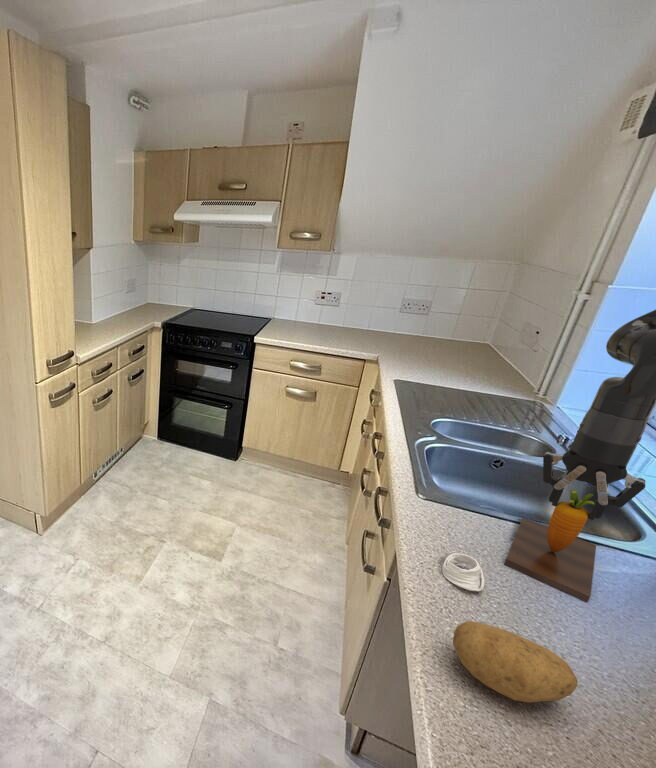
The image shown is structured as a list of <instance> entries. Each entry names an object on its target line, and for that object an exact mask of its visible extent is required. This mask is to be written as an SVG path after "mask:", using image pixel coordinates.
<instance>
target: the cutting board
mask: <svg viewBox="0 0 656 768" xmlns="http://www.w3.org/2000/svg"><path fill="white" fill-rule="evenodd" d="M548 526H549V525H545V524H543V523H540V522H537V521H534V520H532V519H530V518H528V517H527V518H526V517H525V516H522V517H521V520H520V522H519V525H518V527H517V530H516V532H515V534H514V538H513V541H512V543H511V546H510V547H509V550H508V553H507V556H506V558H505V561H504V562H503V565H504V566H506V567H509V568H511V569H513V570H515V571H517V572H519V573H522V574H523V575H526V576H528V577H530V578H532V579H535V580H537V581H539V582H542V583H543V584H546V585H547V586H550V587H552V588H555V589H556V590H558V591H560V592H563V593H565V594H568V595H570V596H572V597H574V598H576V599H579V600H580V601H583V602H585V603H588V602H589V600H590V598H591V595H592V587H593V578H594V569H595V560H596V553H597V544H595V543H592V542H589V541H587V540H584V539H582V538H579V537H576V539H575V540H574V541H573V542H572V543H571V544H570V545H569V546H568V547H566V548H565V549H563V550H561V551H558V552H552V551H551V550H550V548H549V544H548V539H547V533H548Z"/></svg>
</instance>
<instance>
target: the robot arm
mask: <svg viewBox="0 0 656 768" xmlns="http://www.w3.org/2000/svg"><path fill="white" fill-rule="evenodd" d="M605 349H606V353H607V354H608V355H609V357H611V358H612V359H613V360H616V361H618V362H620V363H624V364H626V365H630V366H632V368H630V371H629V372H628V373H627V374H626V375H625V376H612V377H608V378H605V379H604V380H603V381H602V382H601V384H600V385H599V388H598V389H597V391H596V394H595V396H594V398H593V401H592V402H591V405H590V407H589V409H588V410H587V411H586V413H585V415H584V416H583V417H582V420H581V422H580V424H579V427H578V429H577V432H576V434H575V436H574V438H573V440H572V443H571V446H570V447H569V449H568V451H566V452H564V453H563V454H562V453H554V452H553V451H551V450H548V451H545V452H544V454H543V457H542V461H543V463H542V470H543V471H542V475H543V476H542V480H543V482H544V483H546V484H549V485H550V486H552V491H551V494H550V495H549V497H548V502H549V503H551V506H552V507H554V508H555V507H556V506H557V504H558V503H559V502H560V499H561V497H562V494H563V492H564V489H565V487H566V486H568V485H569V484H571V483H573V482H574V481H579V482H585V483H587V484H589V485H591V486H594V487H596V488H597V489H596V492H597V498H596V499H595V501H594V505H592V507H591V509H590V512H589V516H588V519H589V520H591V521H594V520H595V519H598V520H599V519H600V518H601V517H602V516H603V514H604V511H605V509H606V508H607V507H608V506H613V507H617V508H622V507H625V505H627V503H629V502H630V501H632V499H634V498H635V497H636V496H637V495H638V494H640V493H641V492H642V491H643V490H644V489H646V483H647V482H646V479H644V478H642V477H635V476H633V475H632V474H630V473H628V470H627V466H628V465H629V463H630V462H631V461H630V460H631V459H632V456H633V455H634V453H635V451H636V449H637V447H638V445H639V443H640V442H641V441H642V437H643V435H644V432H645V430H646V427H647V423H648V420H649V418H650V416H651V415H652V412H653V410H654V408H655V406H656V309H654V310H651V311H649V312H647V313H645V314H642V315H640V316H638V317H635V318H634V319H632V320H630V321H628V322H626V323H624V324H623V325H621V326H620V327H618V328H617V329H616V330H614V332H613V333H612V334H611V335H610V336H609V338H608V340H607V341H606V345H605ZM560 461H562V463H563V464H564V466H565V468H566V470H567V471H566V472H564V474H562V475H561V476H560V477H559V478H557V477H556V476H554V469H555V468H554V466H556V465H558V464H559V462H560ZM621 480H624V487H625V488H623V489H622V490H621V491H620V492H619V493H618V494H617V495H615V496H614V495H609V485H611V484H613V483H616V482H618V481H621Z"/></svg>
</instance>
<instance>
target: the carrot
mask: <svg viewBox="0 0 656 768" xmlns="http://www.w3.org/2000/svg"><path fill="white" fill-rule="evenodd" d="M569 495H570V496H569V497H570V498H569V501H558V504H557V506H556V507H555V506H554V509H553V511H552V514H551V516H550V520H549V522H548V525H547V526H548V533H547V539H548V544H549V548H550V550H551V551H552V552H558V551H561V550H563V549H565V548H566V547H568V546H569V545H570V544H571V543H572V542H573V541H574V540H575V539H576V538H578V536H579V535H580V533H581V531H582V530H583V529H584V527H585V525H586V523H587V521H588V519H589V518H588V516H589V513H590V512H589V511H588V510H587V509H586V508H584V506H589V505H592V506H593V505H594V503H595V501H592V500H589V499H591V498H593V496H594V494H593V493H591V492H590V493H588V494H586V495H584V496H583V497H582V499H579V494H578V491H577V490H575V489H572V490H570V494H569Z"/></svg>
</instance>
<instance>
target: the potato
mask: <svg viewBox="0 0 656 768" xmlns="http://www.w3.org/2000/svg"><path fill="white" fill-rule="evenodd" d="M452 638H453V639H452V645H453V648H454V650H455V652H456V655H457V656H458V658H459V660H460V662H461V664H462V665H463V667H464V668H465V669H466V670H467V671H468V672H469V673H470V674H471V675H472V676H473V677H474V678H476V679H477V680H478V681H479V682H480V683H482V684H483V685H485V686H486V687H487V688H490V689H492V690H493V691H495V692H497V693H499V694H501V695H503V696H505V697H507V698H509V699H511V700H513V701H517V702H523V703H538V702H539V703H540V702H555V701H558V700H562V699H565V698H567V697H568V696H570V695H572V694H573V693H574V692H575V691H576V689H577V687H578V686H579V685H578V678H577V676H576V675H575V672H573V669H572V668H571V666H570V665H569V664H568V662H567V661H566V660H564V659H563V658H562V657H560V656H559V655H558V654H556V653H555V652H554V651H552V650H550V649H548V648H547V647H544V646H542V645H540V644H539V643H536V642H535V641H533V640H532V641H531V640H529V639H527V638H525V637H523V636H521V635H518V634H516V633H513V632H511V631H509V630H506V629H504V628H501V627H497V626H493V625H489V624H487V623H482V622H477V621H473V620H466V621H464V622H463V623H461V624H458V625H457V626H456V628H455V629H454V631H453V637H452Z"/></svg>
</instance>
